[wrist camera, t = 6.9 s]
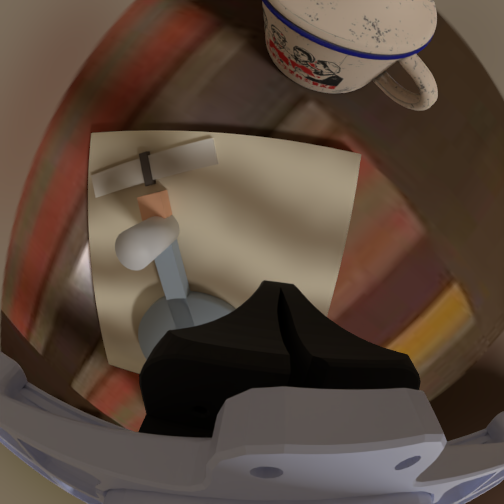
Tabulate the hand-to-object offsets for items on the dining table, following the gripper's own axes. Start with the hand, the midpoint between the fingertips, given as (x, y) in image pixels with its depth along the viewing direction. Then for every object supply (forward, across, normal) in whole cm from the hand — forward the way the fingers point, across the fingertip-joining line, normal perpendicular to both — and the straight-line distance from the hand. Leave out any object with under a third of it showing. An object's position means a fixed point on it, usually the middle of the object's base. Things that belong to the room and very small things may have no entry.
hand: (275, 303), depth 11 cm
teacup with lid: (+10, -3, -15) cm, 18 cm away
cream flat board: (+9, +5, +4) cm, 11 cm away
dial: (+8, +6, +6) cm, 12 cm away
